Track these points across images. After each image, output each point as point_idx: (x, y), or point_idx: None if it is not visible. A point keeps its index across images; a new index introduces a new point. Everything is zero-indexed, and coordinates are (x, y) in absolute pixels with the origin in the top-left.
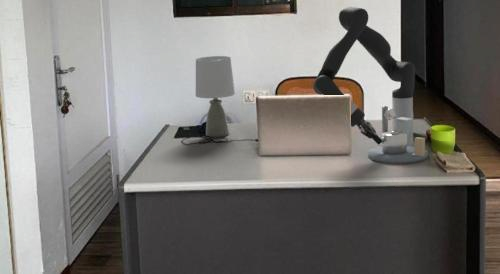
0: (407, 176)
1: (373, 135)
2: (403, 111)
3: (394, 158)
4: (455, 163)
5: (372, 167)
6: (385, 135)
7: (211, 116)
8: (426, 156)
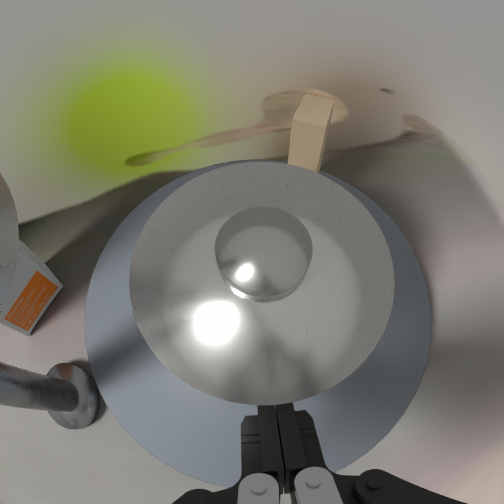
0: (498, 220)
1: (366, 476)
2: None
3: (410, 285)
4: None
5: (479, 371)
6: (360, 341)
7: None
8: None
